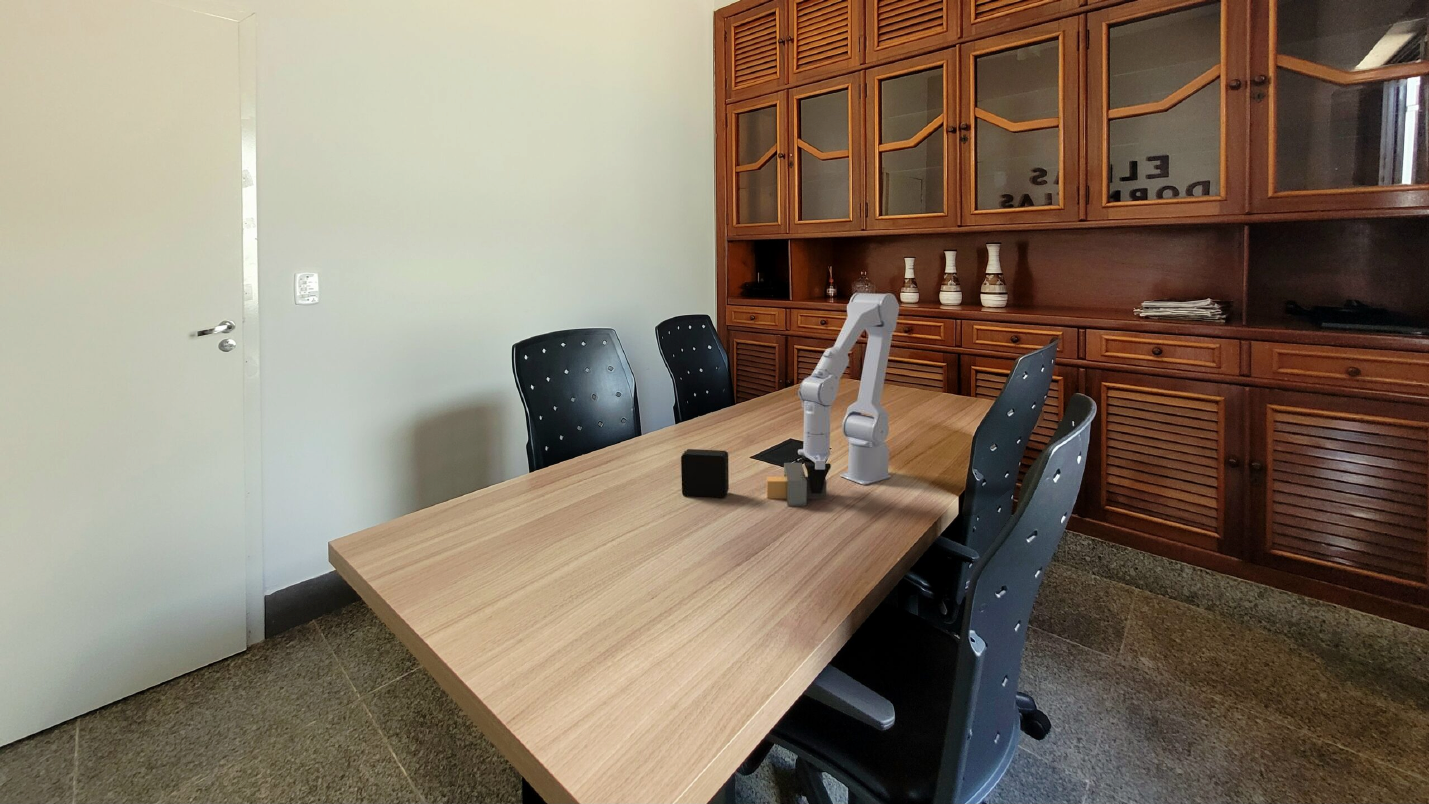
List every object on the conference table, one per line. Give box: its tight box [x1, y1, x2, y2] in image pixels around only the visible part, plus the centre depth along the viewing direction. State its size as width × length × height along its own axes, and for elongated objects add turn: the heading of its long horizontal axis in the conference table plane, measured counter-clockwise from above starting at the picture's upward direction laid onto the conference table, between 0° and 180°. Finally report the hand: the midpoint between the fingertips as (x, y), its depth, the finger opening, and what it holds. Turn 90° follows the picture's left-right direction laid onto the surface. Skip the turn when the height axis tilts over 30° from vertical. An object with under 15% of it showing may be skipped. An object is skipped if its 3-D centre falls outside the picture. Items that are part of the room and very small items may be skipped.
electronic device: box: [680, 448, 730, 500], centre depth 137 cm, size 4×10×10 cm, turn 78°
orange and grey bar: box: [766, 476, 828, 500], centre depth 136 cm, size 13×3×4 cm, turn 87°
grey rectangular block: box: [783, 462, 807, 507], centre depth 136 cm, size 4×12×6 cm, turn 177°
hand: (815, 490), depth 136 cm, fingers closed on orange and grey bar, 3 cm apart
